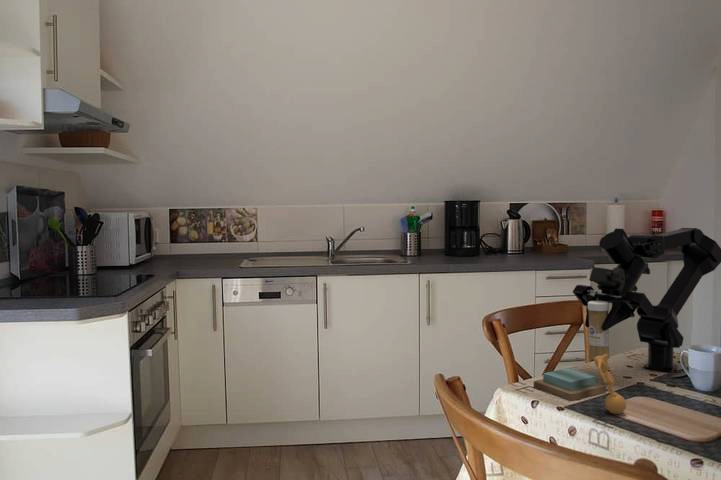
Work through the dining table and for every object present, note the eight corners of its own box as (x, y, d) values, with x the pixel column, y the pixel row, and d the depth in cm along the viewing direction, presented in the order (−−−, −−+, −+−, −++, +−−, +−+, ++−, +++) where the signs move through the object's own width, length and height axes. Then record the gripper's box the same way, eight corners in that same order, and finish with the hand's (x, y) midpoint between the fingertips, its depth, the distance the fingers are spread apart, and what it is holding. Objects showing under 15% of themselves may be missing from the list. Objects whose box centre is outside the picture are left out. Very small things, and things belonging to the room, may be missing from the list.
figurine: (623, 421, 114) (624, 360, 113) (590, 416, 117) (591, 357, 116) (628, 408, 121) (628, 351, 121) (597, 404, 124) (597, 348, 124)
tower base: (567, 380, 141) (567, 365, 141) (606, 392, 132) (606, 377, 131) (533, 387, 136) (533, 372, 136) (571, 401, 126) (571, 385, 126)
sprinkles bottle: (585, 358, 138) (583, 301, 138) (596, 355, 141) (594, 299, 141) (603, 362, 135) (601, 303, 134) (614, 358, 137) (612, 301, 137)
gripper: (577, 252, 147) (545, 301, 142) (645, 257, 130) (612, 312, 126) (599, 280, 151) (569, 329, 146) (667, 289, 135) (636, 343, 130)
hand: (594, 328), depth 137 cm, fingers closed on sprinkles bottle, 4 cm apart
